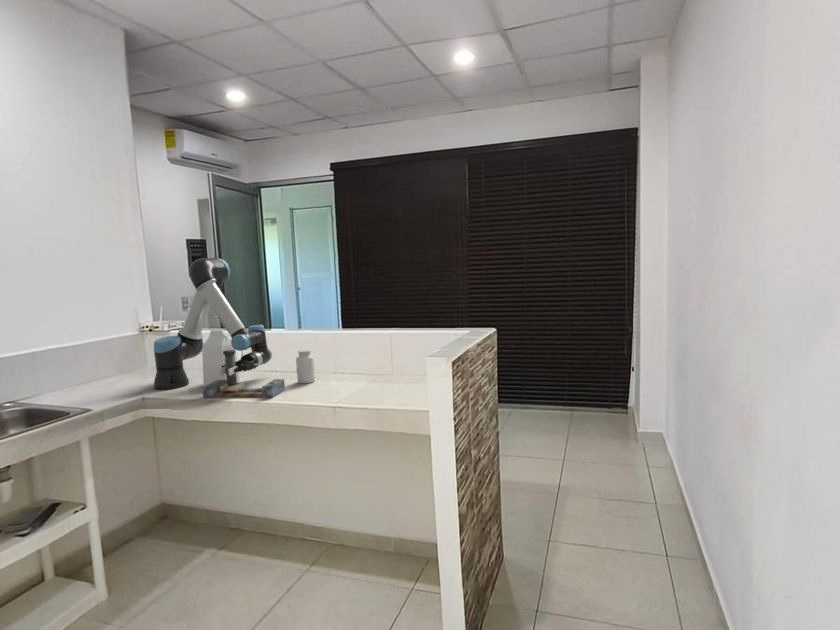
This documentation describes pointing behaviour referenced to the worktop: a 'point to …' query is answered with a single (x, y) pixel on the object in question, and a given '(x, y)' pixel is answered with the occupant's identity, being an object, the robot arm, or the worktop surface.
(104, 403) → the worktop surface
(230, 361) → the dark grey post
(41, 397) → the worktop surface
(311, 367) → the pill bottle
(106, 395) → the worktop surface
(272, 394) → the rail track
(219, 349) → the milk
